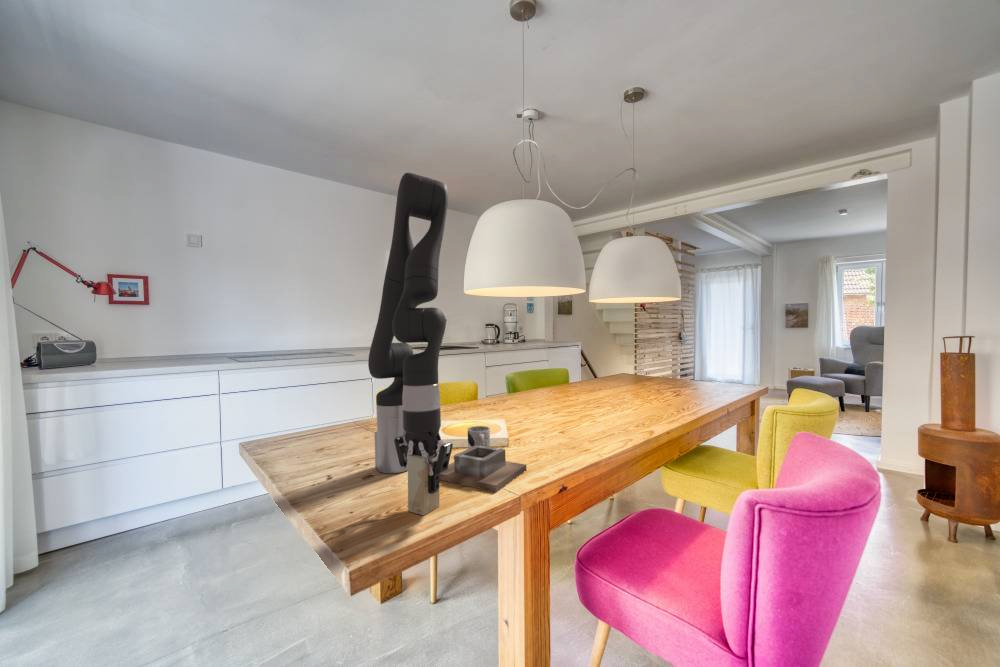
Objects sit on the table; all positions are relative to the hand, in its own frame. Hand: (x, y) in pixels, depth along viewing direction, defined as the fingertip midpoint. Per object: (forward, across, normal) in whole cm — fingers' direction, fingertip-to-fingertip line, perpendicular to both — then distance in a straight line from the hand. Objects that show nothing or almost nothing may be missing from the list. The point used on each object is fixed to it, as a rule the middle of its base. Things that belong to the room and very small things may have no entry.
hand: (423, 489), depth 79 cm
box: (+4, 0, 0) cm, 4 cm away
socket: (+4, 0, -21) cm, 21 cm away
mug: (+4, +10, -36) cm, 38 cm away
